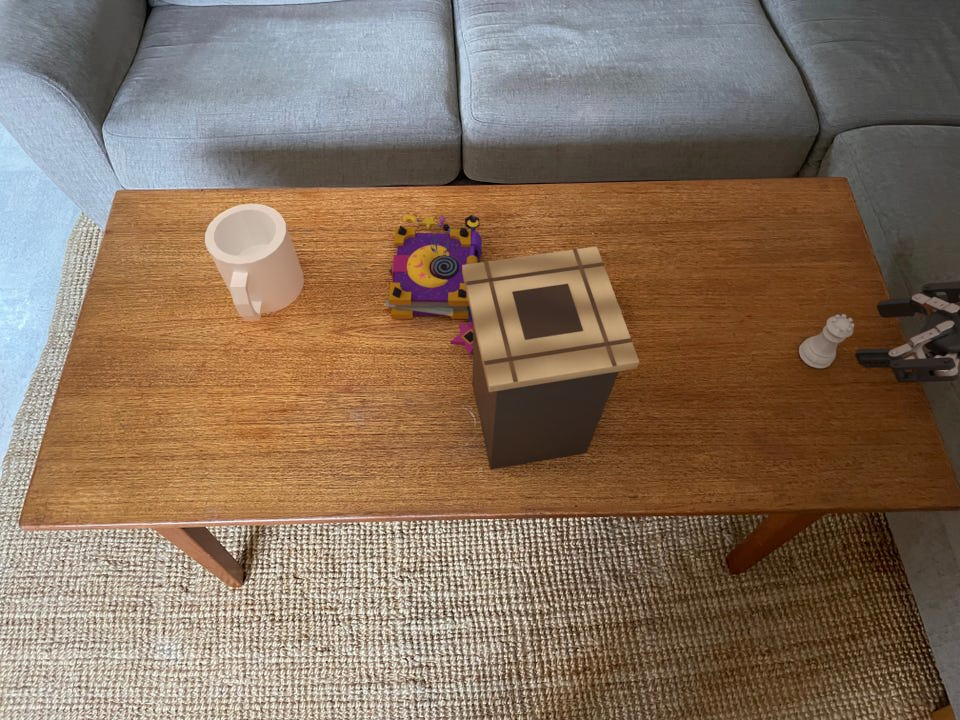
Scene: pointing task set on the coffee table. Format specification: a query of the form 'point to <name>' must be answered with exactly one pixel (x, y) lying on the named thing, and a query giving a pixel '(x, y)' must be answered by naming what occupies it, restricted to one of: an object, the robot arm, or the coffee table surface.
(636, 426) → the coffee table surface
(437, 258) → the book
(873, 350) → the robot arm
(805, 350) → the rook chess piece
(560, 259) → the game board
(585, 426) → the board stand
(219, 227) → the mug
